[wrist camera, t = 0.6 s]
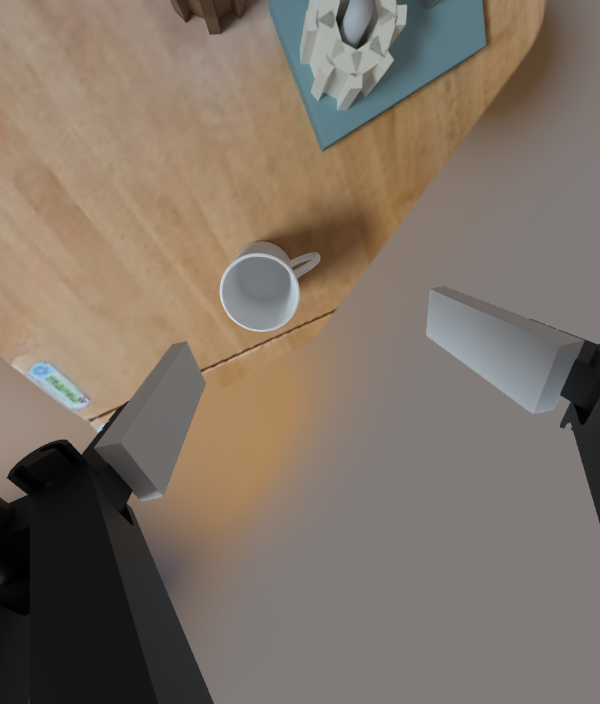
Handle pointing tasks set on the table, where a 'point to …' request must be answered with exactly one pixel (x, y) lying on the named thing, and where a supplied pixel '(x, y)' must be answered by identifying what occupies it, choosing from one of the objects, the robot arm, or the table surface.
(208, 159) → the table surface
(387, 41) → the cream gear
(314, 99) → the gear board
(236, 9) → the walnut gear
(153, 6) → the table surface
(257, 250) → the mug
